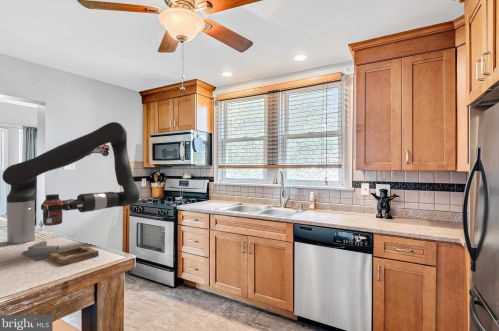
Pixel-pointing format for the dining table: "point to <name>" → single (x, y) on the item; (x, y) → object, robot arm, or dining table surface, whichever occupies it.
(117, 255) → the dining table surface
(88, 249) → the frame
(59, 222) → the supplement bottle
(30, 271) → the dining table surface
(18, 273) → the dining table surface
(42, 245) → the metal v block
